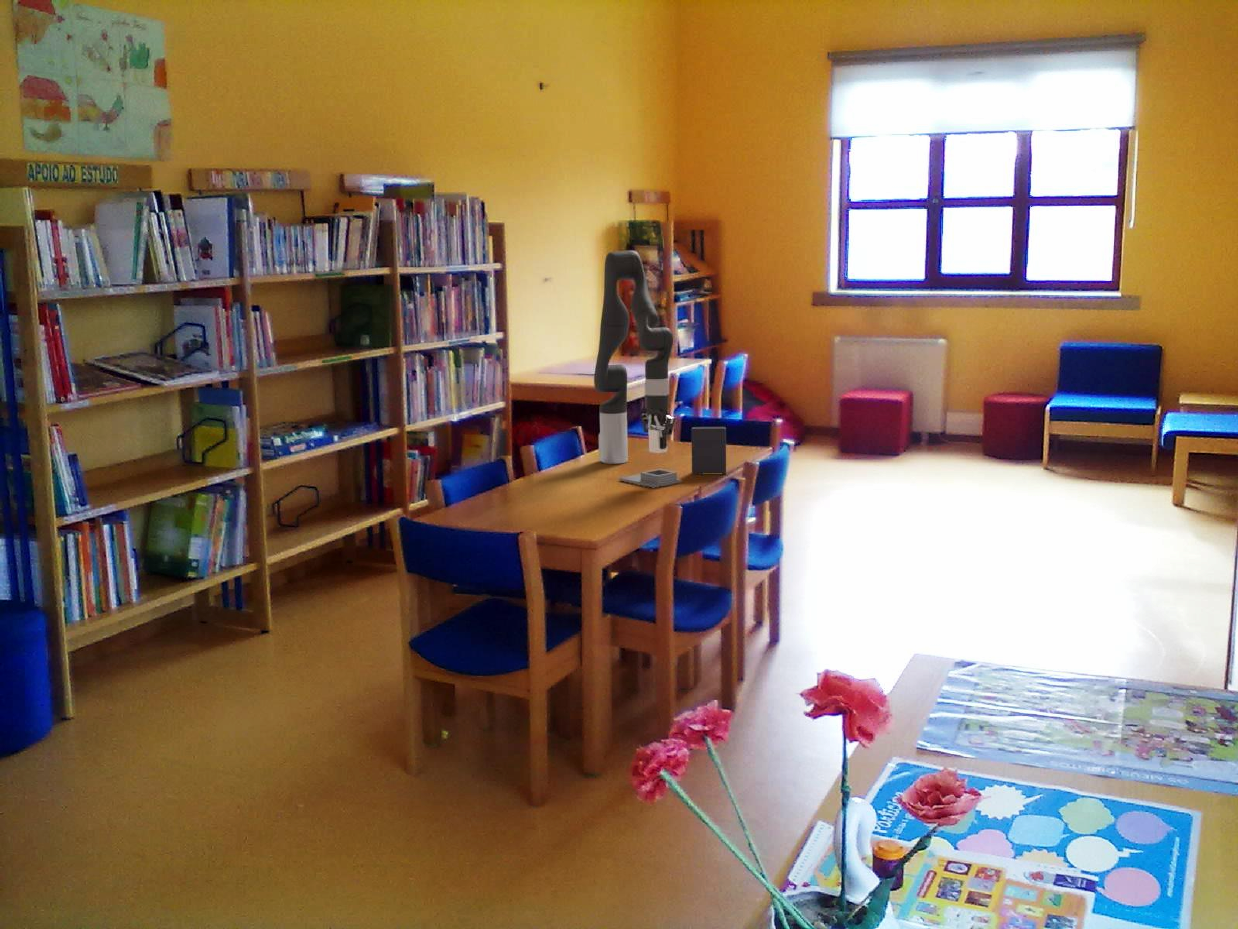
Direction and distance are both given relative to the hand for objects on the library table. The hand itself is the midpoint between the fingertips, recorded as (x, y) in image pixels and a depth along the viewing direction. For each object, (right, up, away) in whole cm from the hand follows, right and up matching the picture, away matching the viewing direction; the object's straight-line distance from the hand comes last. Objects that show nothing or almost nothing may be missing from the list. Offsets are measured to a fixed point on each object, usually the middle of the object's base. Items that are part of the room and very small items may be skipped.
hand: (658, 447), depth 372 cm
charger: (0, -1, 0) cm, 1 cm away
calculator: (+17, -8, +16) cm, 25 cm away
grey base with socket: (-2, -11, +5) cm, 12 cm away
